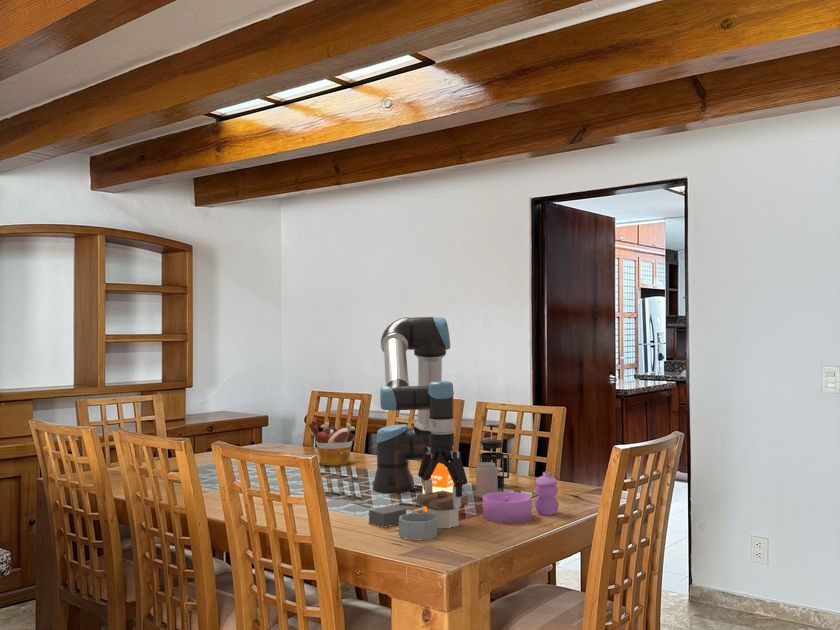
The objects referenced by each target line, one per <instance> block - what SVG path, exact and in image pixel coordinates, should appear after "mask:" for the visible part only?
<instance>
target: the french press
mask: <svg viewBox="0 0 840 630" xmlns="http://www.w3.org/2000/svg"><path fill="white" fill-rule="evenodd" d="M497 426H498V425H496V424H486V425H485V427H489V430H490V438H489V439H481V440H479V443H480V444H481V445H482V446H483V447H484V448H486V449H490V452H489V451H488V452H480V453H479V463H482V460H486V462H491V463H495V466H496V467H497V473H501V472H502V475H498V474H497V479H498V489H502V487H503V488H505V487H504V486H505V479H509V478H510V459H509V458H510V455H509V454H508V453H501V452H496V451H495V452H494V451H493V449H501V448H503V443H504V440H502V439H495V438H493V428H495V427H497ZM505 456H506V468H507V469H506V472H507V473H506V475H505V458H504V457H505ZM498 460H501V461H502V462H501V467H499V466H498Z"/></svg>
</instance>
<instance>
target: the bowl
mask: <svg viewBox="0 0 840 630" xmlns="http://www.w3.org/2000/svg"><path fill="white" fill-rule="evenodd" d="M426 513H429V514H433V515H437V528H450V529H452V528H451V527H454V528H456V527H455V526H458V527H460V525H459V523H460V521H459V508H455V509H454V508H451V509H447V510H443V511H442V510H438V509H434V508H430V507H427V512H426Z"/></svg>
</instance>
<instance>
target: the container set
mask: <svg viewBox="0 0 840 630" xmlns="http://www.w3.org/2000/svg"><path fill="white" fill-rule="evenodd" d="M550 473H551V472H550V471H543V472H542V475H541V476H538V477H537V478H536V480H535V483H536V486H535V488H534V491H535V494H536V495H537V496H538V497H537V499H536V500H535V502H534V507H535V510H536V512H537V513H538V514H539V515H541V514H542V515H541V516H553V514H554V515H555V514H556V513H557V512H558V511H559V506H560V505H559V502H558V499H557V498H555V496H557V495H558V494H559V488H558V486H557V484H558V480H557V478H555V477H553V476H551V475H550ZM532 501H533V500H532V496H531V495H529V494H527V493H524V492H519V491H518V492H516V491H498V492H494V493H488V494H485V495H484V496H483V499H482V518H483V519H484V520H486V521H488V520H489V522H492V521H494V522H493V523H498V522H502V523H501V524H517V523H516V522H520V523H524V521H525V522H528V521H531V520H532V519H531V518H533V509H532V508H533V505H532V503H533V502H532Z"/></svg>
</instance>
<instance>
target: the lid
mask: <svg viewBox="0 0 840 630" xmlns="http://www.w3.org/2000/svg"><path fill="white" fill-rule="evenodd" d="M416 505H417V506H422V507H423V506H426V507H430V508H434V509H438V510H442V511H443V510H447V509H451V508H453V493H452V492H447V491H443V490H442V491H437V492H433V493H428V494H424V495H423V494H420V495H416ZM466 505H469V496H468V495H465V494H462V497H461V507H463V506H466Z"/></svg>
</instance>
